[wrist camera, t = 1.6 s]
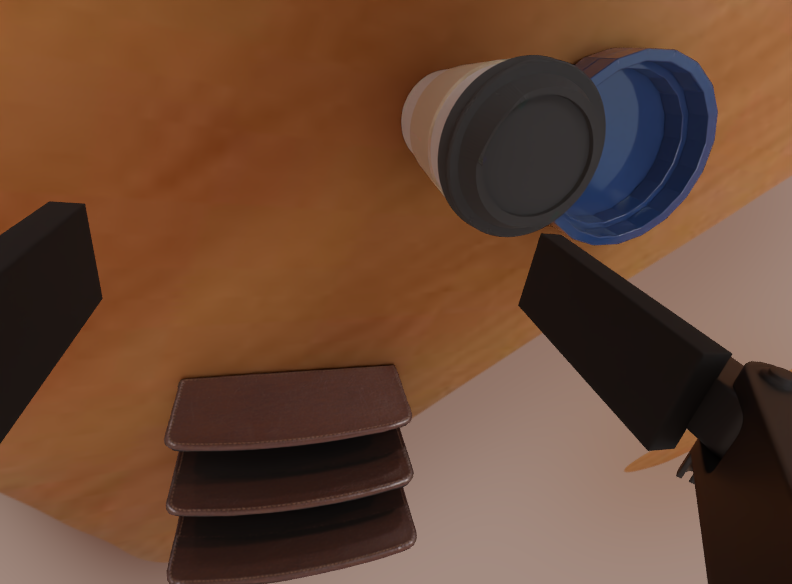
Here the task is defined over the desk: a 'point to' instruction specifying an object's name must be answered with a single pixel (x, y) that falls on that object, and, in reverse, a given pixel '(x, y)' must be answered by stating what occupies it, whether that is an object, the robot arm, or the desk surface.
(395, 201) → the desk surface
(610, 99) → the bowl
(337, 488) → the letter holder
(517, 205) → the coffee cup
